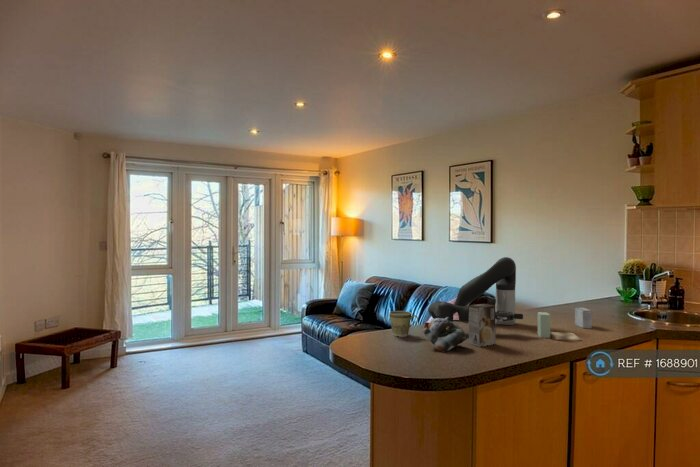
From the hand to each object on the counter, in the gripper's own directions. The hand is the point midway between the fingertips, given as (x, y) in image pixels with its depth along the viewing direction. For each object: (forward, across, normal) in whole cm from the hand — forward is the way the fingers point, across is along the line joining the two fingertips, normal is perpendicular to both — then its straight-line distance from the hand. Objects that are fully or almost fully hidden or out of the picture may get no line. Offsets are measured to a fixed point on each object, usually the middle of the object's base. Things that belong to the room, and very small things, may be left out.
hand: (522, 316), depth 194 cm
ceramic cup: (-52, +11, -9) cm, 54 cm away
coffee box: (-19, +20, -9) cm, 29 cm away
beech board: (+17, 0, -8) cm, 19 cm away
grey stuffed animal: (-34, +29, -9) cm, 46 cm away
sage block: (+9, 0, -8) cm, 12 cm away
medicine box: (+32, -24, -9) cm, 41 cm away
